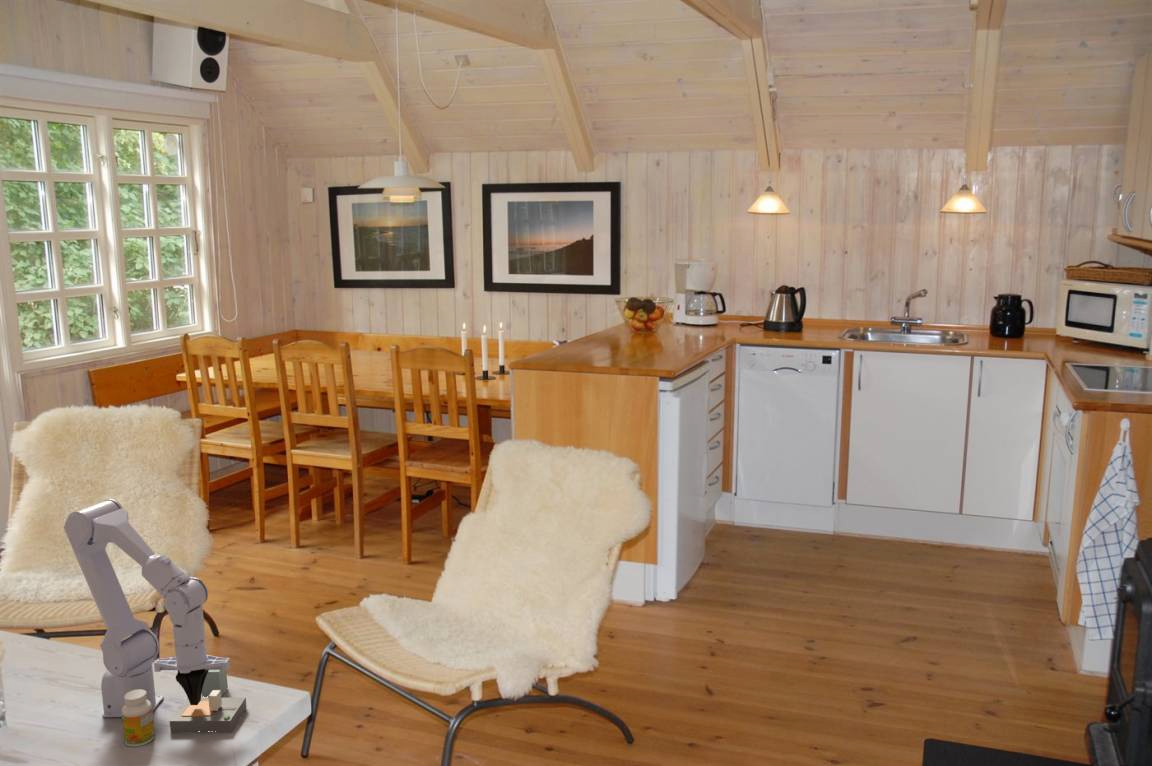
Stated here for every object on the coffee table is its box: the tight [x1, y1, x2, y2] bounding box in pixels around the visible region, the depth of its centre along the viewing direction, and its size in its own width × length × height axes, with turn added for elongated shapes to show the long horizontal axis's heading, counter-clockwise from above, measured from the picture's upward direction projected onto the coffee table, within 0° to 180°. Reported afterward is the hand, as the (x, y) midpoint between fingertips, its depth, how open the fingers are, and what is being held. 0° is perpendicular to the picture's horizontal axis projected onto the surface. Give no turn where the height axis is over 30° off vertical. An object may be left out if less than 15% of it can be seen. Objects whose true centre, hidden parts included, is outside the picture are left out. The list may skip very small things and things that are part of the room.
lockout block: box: [201, 670, 229, 698], centre depth 204 cm, size 4×4×6 cm
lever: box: [208, 690, 222, 711], centre depth 193 cm, size 2×2×3 cm
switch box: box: [169, 697, 247, 733], centre depth 194 cm, size 12×9×3 cm
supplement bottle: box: [121, 689, 156, 748], centre depth 186 cm, size 5×5×10 cm
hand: (195, 702), depth 193 cm, fingers closed
